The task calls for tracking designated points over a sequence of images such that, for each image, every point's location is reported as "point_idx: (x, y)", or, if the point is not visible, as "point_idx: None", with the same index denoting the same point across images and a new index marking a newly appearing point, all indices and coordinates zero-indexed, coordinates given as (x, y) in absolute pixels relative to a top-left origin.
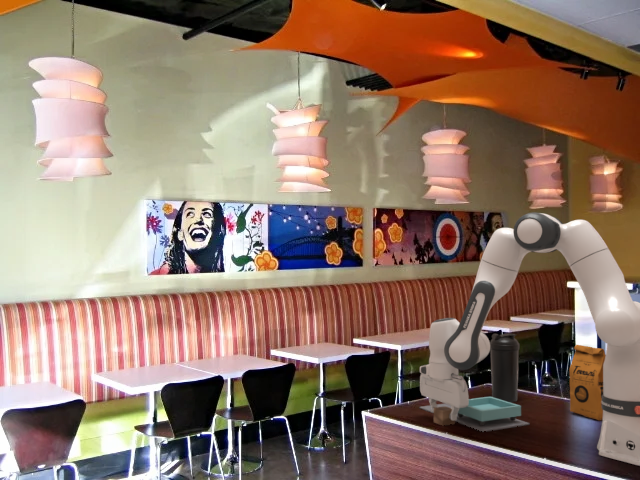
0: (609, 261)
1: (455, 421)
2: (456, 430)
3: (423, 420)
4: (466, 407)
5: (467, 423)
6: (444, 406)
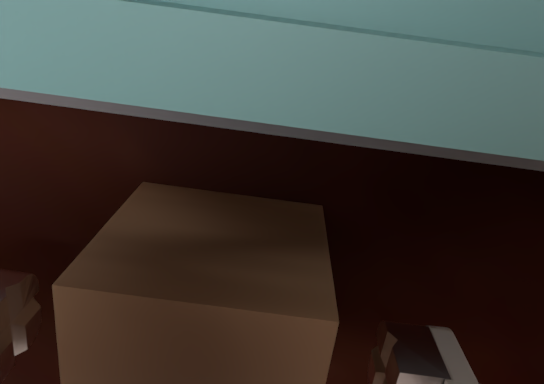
0: None
1: (257, 130)
2: (506, 355)
3: (35, 351)
4: (538, 153)
5: None
6: (55, 306)
